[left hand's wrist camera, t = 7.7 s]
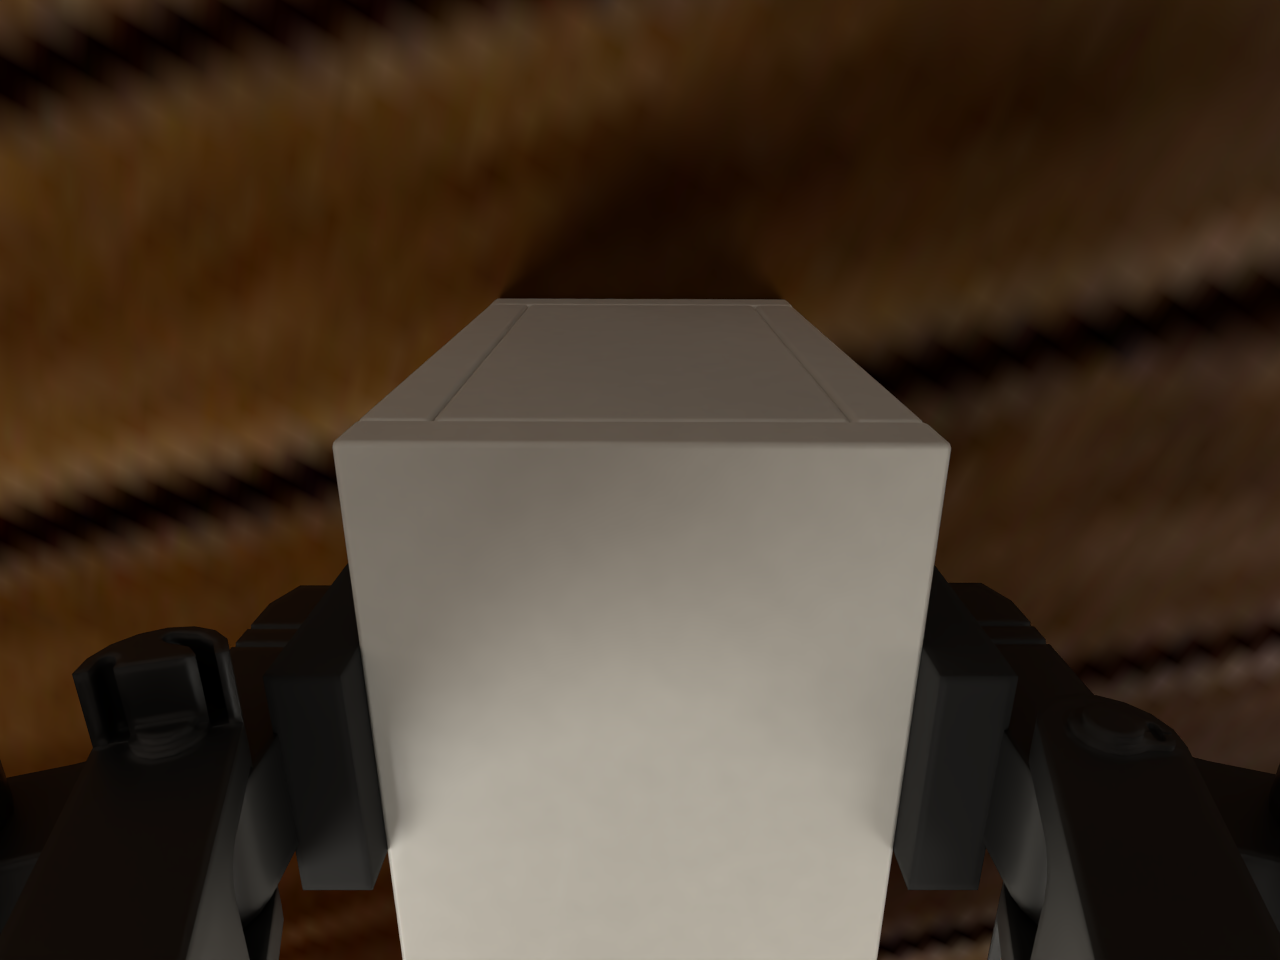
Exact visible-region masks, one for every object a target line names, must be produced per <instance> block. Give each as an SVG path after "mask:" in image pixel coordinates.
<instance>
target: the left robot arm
mask: <svg viewBox="0 0 1280 960" xmlns="http://www.w3.org/2000/svg"><path fill="white" fill-rule="evenodd" d="M72 676H73V679H74V683H75V686H76V690H77V693H78V697H79V700H80V704H81V707H82V711H83V714H84V718H85V721H86V725H87V728H88V732H89V735H90V739H91V742H92V746H93V749H92V751H91V753H90V755H89V757H88V759H87V761H86V762H82V763H78V764H74V765H69V766H64V767H59V768H54V769H49V770H44V771H39V772H34V773H29V774H24V775H19V776H14V777H9V778H6V776H5V773H4V770H3V767H2V764H1V761H0V960H279V952H280V944H281V936H282V928H283V920H284V919H283V912H282V906H281V900H280V895H279V890H278V883H279V881H280V879H281V877H282V875H283V874H284V872H285V870H286V868H287V866H288V864H289V862H290V860H291V858H292V856H293V854H294V852H295V850H296V855H297V861H298V866H299V871H300V877H301V882H302V887H303V890H373V888H374V885H375V882H376V880H377V877H378V874H379V872H380V869H381V866H382V864H383V861H384V858H385V856H386V853H387V850H388V847H387V840H386V833H385V825H384V818H383V811H382V804H381V796H380V789H379V782H378V774H377V767H376V760H375V752H374V745H373V738H372V731H371V723H370V716H369V709H368V701H367V694H366V687H365V680H364V672H363V665H362V658H361V650H360V643H359V636H358V629H357V621H356V614H355V607H354V599H353V592H352V585H351V577H350V570H349V563H348V564H347V565H346V566H345V568H344V569H343V570H342V572H341V573H340V574H339V576H338V577H337V578H336V580H335V581H334V582H333V584H332V585H331V586H299V587H297V588H295V589H294V590H292V591H290V592H289V593H287V594H285V595H284V596H282V597H280V598H279V599H277V600H275V601H273V602H272V603H270V604H269V605H268V606H267V607H266V609H265V610H264V611H263V612H262V613H261V614H260V615H259V617H258V618H257V619H256V620H255V621H254V622H253V624H252V625H251V629H247V630H246V632H245V633H244V634H243V635H242V636H241V637H240V639H239V640H238V641H237V642H236V647H232V648H231V649H230V650H229V645H228V640H227V638H225V637H224V636H223V635H221V634H220V633H218V632H217V631H216V630H211V629H206V628H200V627H195V626H193V627H173V628H165V629H160V630H155V631H151V632H146V633H141V634H138V635H135V636H132V637H130V638H127V639H125V640H122V641H119V642H117V643H114V644H111V645H109V646H108V647H106V648H104V649H103V650H101V651H99V652H97V653H96V654H94V655H92V656H91V657H89V658H87V659H86V660H85V661H84V662H83V663H82V664H81V665H80V666H79V667H78V669H77V670H76V671H75V672H74V673H73V674H72ZM986 848H987V850H988V852H989V854H990V856H991V858H992V860H993V862H994V864H995V866H996V868H997V870H998V871H999V873H1000V875H1001V877H1002V879H1003V885H1002V890H1001V895H1000V900H999V905H998V910H997V914H996V919H995V924H994V929H993V934H992V939H991V944H990V949H989V954H988V960H1000V958H1002V960H1280V764H1279V767H1278V770H1277V773H1276V775H1275V774H1270V773H1265V772H1260V771H1255V770H1250V769H1245V768H1240V767H1235V766H1230V765H1225V764H1220V763H1215V762H1210V761H1206V760H1202V759H1198V758H1194V757H1192V755H1191V753H1190V751H1189V749H1188V747H1187V746H1186V745H1185V743H1184V742H1183V741H1182V740H1181V738H1180V737H1179V736H1178V735H1177V733H1176V732H1175V731H1174V730H1173V729H1172V728H1170V727H1169V726H1167V725H1166V724H1165V723H1163V722H1162V721H1160V720H1159V719H1157V718H1156V717H1154V716H1153V715H1152V714H1150V713H1147V712H1145V711H1143V710H1141V709H1138V708H1136V707H1134V706H1131V705H1129V704H1127V703H1125V702H1121V701H1117V700H1113V699H1109V698H1105V697H1101V696H1097V695H1093V693H1092V692H1091V691H1090V690H1089V689H1088V688H1087V687H1086V685H1085V684H1084V683H1083V682H1082V681H1081V680H1080V679H1079V677H1078V676H1077V675H1076V674H1075V673H1074V672H1073V671H1072V669H1071V668H1070V667H1069V666H1068V665H1067V664H1066V662H1065V661H1064V660H1063V659H1062V658H1061V657H1060V656H1059V654H1058V653H1057V652H1056V651H1055V650H1054V649H1053V648H1052V646H1051V645H1050V644H1046V640H1045V638H1044V637H1043V636H1042V635H1041V634H1040V633H1039V632H1038V630H1037V629H1036V628H1035V627H1034V626H1030V621H1029V620H1028V619H1027V618H1026V617H1025V616H1024V614H1023V613H1022V612H1021V611H1020V610H1019V609H1018V608H1017V606H1016V605H1015V604H1014V603H1013V602H1012V601H1011V600H1009V599H1007V598H1006V597H1004V596H1002V595H1001V594H999V593H997V592H996V591H994V590H992V589H990V588H989V587H987V586H985V585H984V584H982V583H948V582H947V581H946V580H945V578H944V577H943V576H942V575H941V573H940V572H939V571H938V569H937V568H936V567H935V565H934V569H933V576H932V583H931V590H930V597H929V604H928V611H927V617H926V624H925V631H924V638H923V645H922V652H921V658H920V665H919V672H918V679H917V686H916V693H915V700H914V707H913V714H912V720H911V727H910V734H909V741H908V748H907V755H906V762H905V769H904V776H903V782H902V789H901V796H900V803H899V810H898V817H897V824H896V831H895V837H894V844H893V851H894V853H895V856H896V859H897V861H898V864H899V867H900V869H901V872H902V875H903V877H904V880H905V883H906V885H907V888H908V890H978V886H979V881H980V876H981V871H982V865H983V860H984V855H985V850H986Z"/></svg>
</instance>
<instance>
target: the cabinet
mask: <svg viewBox="0 0 1280 960" xmlns="http://www.w3.org/2000/svg"><path fill="white" fill-rule="evenodd" d="M950 452H951V446H950V443H949V442H947V441H946V440H945V439H944V438H943V437H942V436H941V435H939V434H938V433H937V432H936V431H935V430H934V429H932V428H931V427H930V426H929V425H928V424H926V423H922V420H920V419H919V418H918V417H917V416H916V415H915V414H914V413H912V412H911V411H910V410H909V409H908V408H907V407H906V406H905V405H903V404H902V403H901V402H900V401H899V400H898V399H897V398H895V397H894V396H893V395H892V394H891V393H890V392H889V391H887V390H886V389H885V388H884V387H883V386H882V385H881V384H879V383H878V382H877V381H876V380H875V379H874V378H873V377H871V376H870V375H869V374H868V373H867V372H866V371H865V370H863V369H862V368H861V367H860V366H859V365H858V364H857V363H856V362H854V361H853V360H852V359H851V358H850V357H849V356H848V355H846V354H845V353H844V352H843V351H842V350H841V349H840V348H838V347H837V346H836V345H835V344H834V343H833V342H832V341H830V340H829V339H828V338H827V337H826V336H825V335H824V334H822V333H821V332H820V331H819V330H818V329H817V328H816V327H814V326H813V325H812V324H811V323H810V322H809V321H808V320H806V319H805V318H804V317H803V316H802V315H801V314H800V313H799V312H797V311H796V310H795V309H794V308H793V307H792V305H791V304H789V303H788V302H787V301H786V300H768V299H496V300H495V301H494V302H493V303H492V304H491V305H490V306H489V307H488V308H487V309H485V310H484V311H483V312H482V313H481V314H480V315H479V316H477V317H476V318H475V319H474V320H473V321H472V322H471V323H469V324H468V325H467V326H466V327H465V328H464V329H463V330H461V331H460V332H459V333H458V334H457V335H456V336H455V337H453V338H452V339H451V340H450V341H449V342H448V343H447V344H445V345H444V346H443V347H442V348H441V349H440V350H439V351H437V352H436V353H435V354H434V355H433V356H432V357H431V358H429V359H428V360H427V361H426V362H425V363H424V364H423V365H421V366H420V367H419V368H418V369H417V370H416V371H415V372H413V373H412V374H411V375H410V376H409V377H408V378H407V379H405V380H404V381H403V382H402V383H401V384H400V385H399V386H397V387H396V388H395V389H394V390H393V391H392V392H390V393H389V394H388V395H387V396H386V397H385V398H384V399H382V400H381V401H380V402H379V403H378V404H377V405H376V406H374V407H373V408H372V409H371V410H370V411H369V412H368V413H366V414H365V415H364V416H363V417H362V418H361V419H360V421H358V422H356V423H355V424H353V425H352V426H351V427H350V428H349V429H348V430H347V431H345V432H344V433H343V434H342V435H341V436H340V437H339V438H337V439H336V440H335V441H334V443H333V453H334V461H335V468H336V475H337V483H338V490H339V497H340V504H341V512H342V519H343V526H344V534H345V541H346V548H347V556H348V563H349V570H350V577H351V585H352V592H353V599H354V607H355V614H356V621H357V629H358V636H359V643H360V650H361V658H362V665H363V672H364V680H365V687H366V694H367V701H368V709H369V716H370V723H371V731H372V738H373V745H374V752H375V760H376V767H377V774H378V782H379V789H380V796H381V804H382V811H383V818H384V825H385V833H386V840H387V847H388V855H389V862H390V870H391V877H392V884H393V891H394V899H395V906H396V913H397V921H398V928H399V935H400V943H401V950H402V957H403V960H877V955H878V948H879V941H880V934H881V927H882V920H883V913H884V906H885V900H886V893H887V886H888V879H889V872H890V865H891V858H892V851H893V844H894V837H895V831H896V824H897V817H898V810H899V803H900V796H901V789H902V782H903V776H904V769H905V762H906V755H907V748H908V741H909V734H910V727H911V720H912V714H913V707H914V700H915V693H916V686H917V679H918V672H919V665H920V658H921V652H922V645H923V638H924V631H925V624H926V617H927V611H928V604H929V597H930V590H931V583H932V576H933V569H934V562H935V556H936V549H937V542H938V535H939V528H940V521H941V514H942V507H943V500H944V494H945V487H946V480H947V473H948V466H949V459H950Z"/></svg>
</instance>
